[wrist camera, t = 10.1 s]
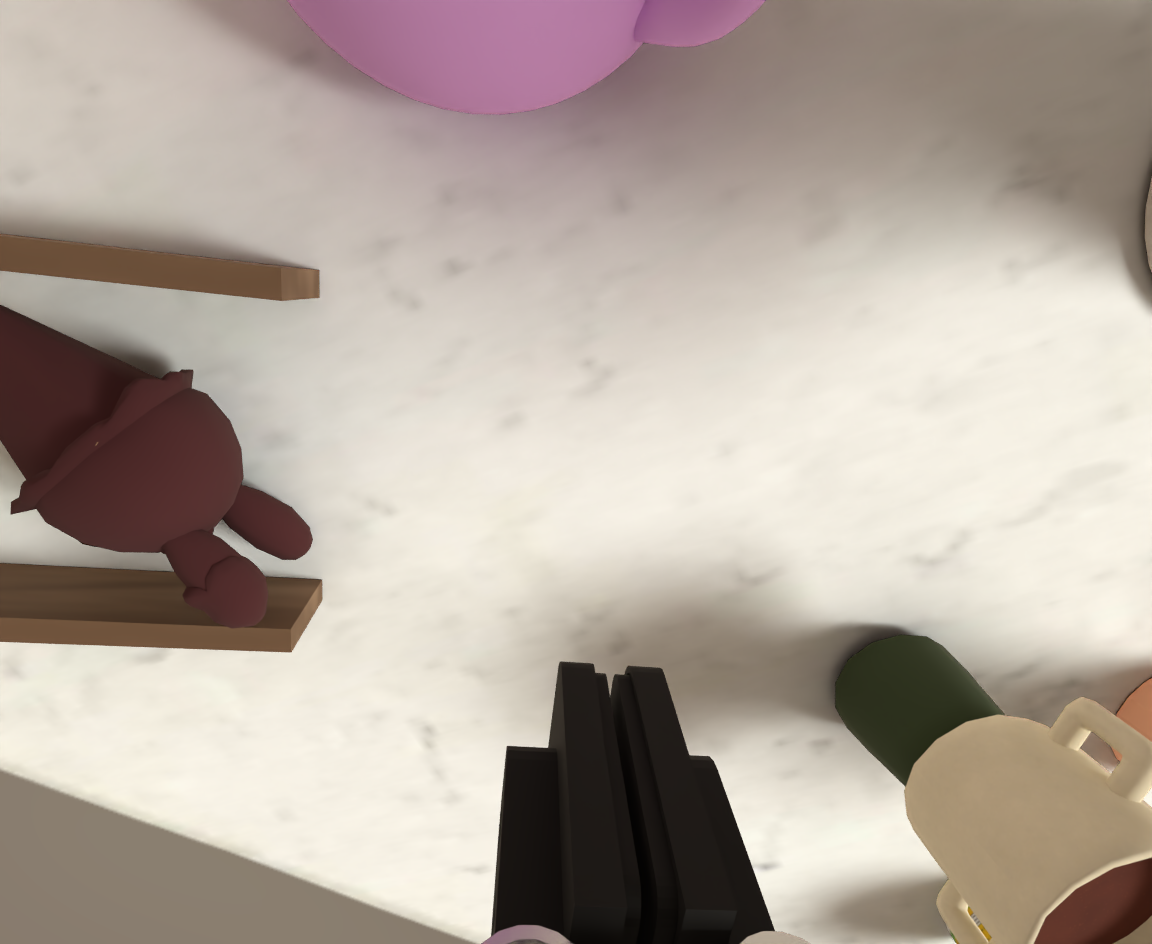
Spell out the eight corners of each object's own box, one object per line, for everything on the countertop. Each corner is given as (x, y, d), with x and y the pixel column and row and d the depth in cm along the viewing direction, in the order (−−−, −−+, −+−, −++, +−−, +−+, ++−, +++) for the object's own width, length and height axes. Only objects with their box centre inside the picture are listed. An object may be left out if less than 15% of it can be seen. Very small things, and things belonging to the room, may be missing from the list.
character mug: (892, 774, 34) (1114, 1062, 21) (781, 746, 32) (949, 1036, 20) (995, 607, 31) (1318, 824, 18) (878, 568, 29) (1143, 775, 17)
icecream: (-292, 377, 16) (177, 692, 22) (-190, 199, 14) (310, 605, 20) (-51, 307, 22) (269, 569, 28) (51, 174, 20) (380, 491, 26)
